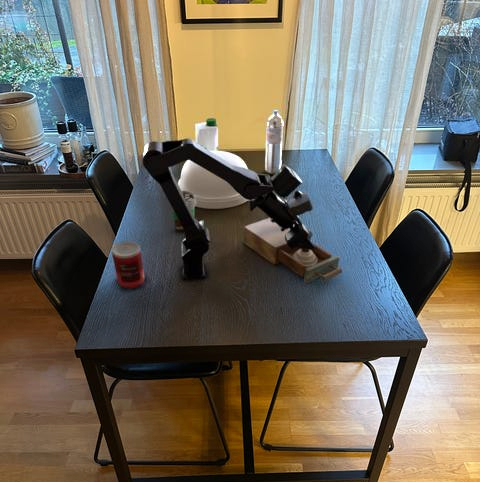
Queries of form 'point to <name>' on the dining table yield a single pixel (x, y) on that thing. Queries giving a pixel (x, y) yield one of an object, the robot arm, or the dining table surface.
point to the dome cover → (211, 184)
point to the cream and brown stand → (306, 255)
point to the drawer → (313, 272)
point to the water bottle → (273, 143)
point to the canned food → (128, 264)
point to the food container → (191, 203)
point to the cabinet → (265, 239)
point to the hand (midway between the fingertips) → (309, 240)
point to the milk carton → (207, 134)
